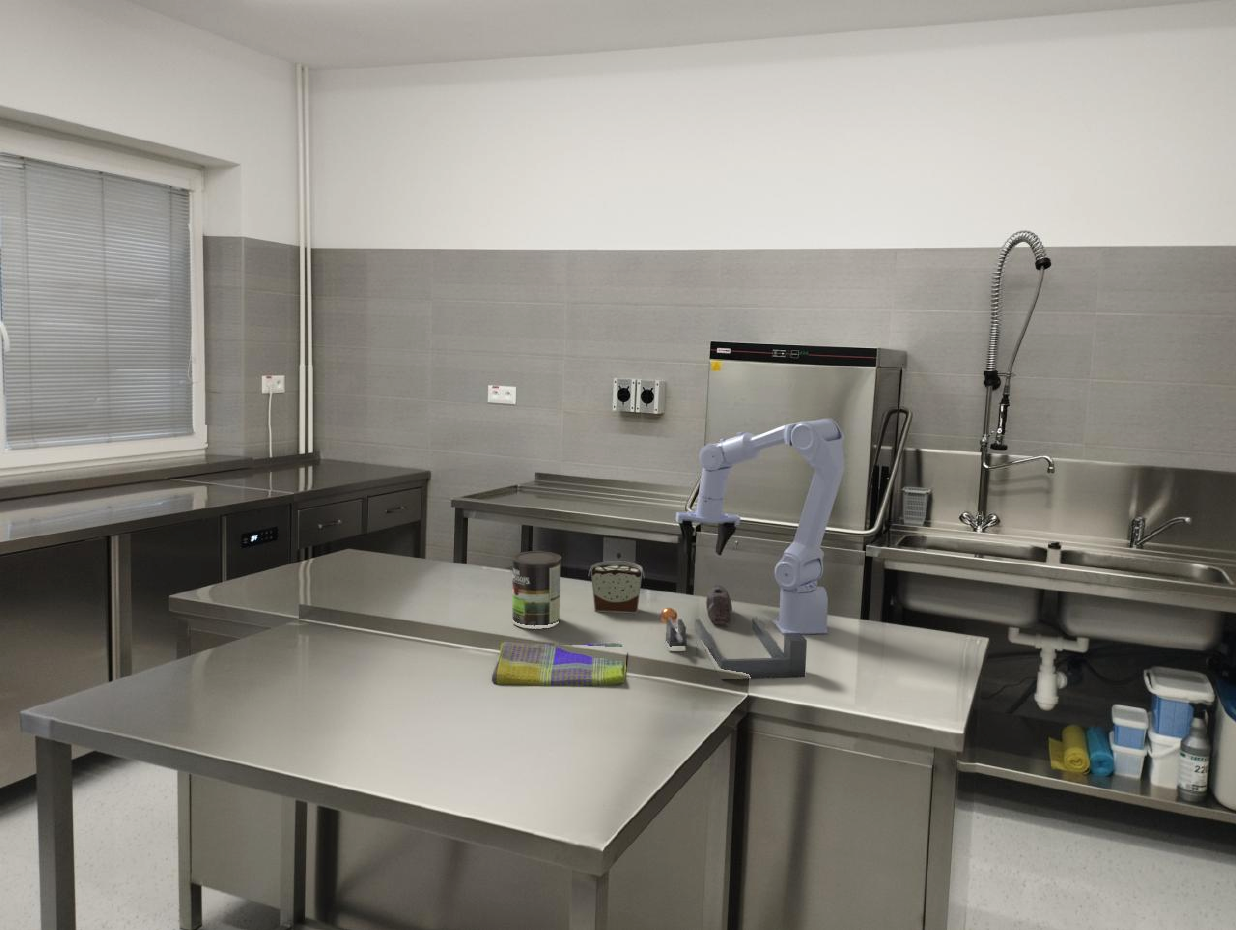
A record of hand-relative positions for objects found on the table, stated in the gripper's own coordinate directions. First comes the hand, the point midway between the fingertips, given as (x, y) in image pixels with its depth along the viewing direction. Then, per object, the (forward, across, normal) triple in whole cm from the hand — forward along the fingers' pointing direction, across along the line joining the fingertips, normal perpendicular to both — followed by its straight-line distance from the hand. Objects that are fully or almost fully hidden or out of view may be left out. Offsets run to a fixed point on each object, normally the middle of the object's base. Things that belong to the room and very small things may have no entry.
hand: (702, 553), depth 213 cm
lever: (+8, +13, +25) cm, 29 cm away
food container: (+13, +18, +2) cm, 23 cm away
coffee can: (+14, +38, +7) cm, 41 cm away
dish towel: (+11, +37, +33) cm, 51 cm away
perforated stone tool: (+10, -1, +12) cm, 16 cm away
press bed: (+8, +4, +33) cm, 34 cm away
